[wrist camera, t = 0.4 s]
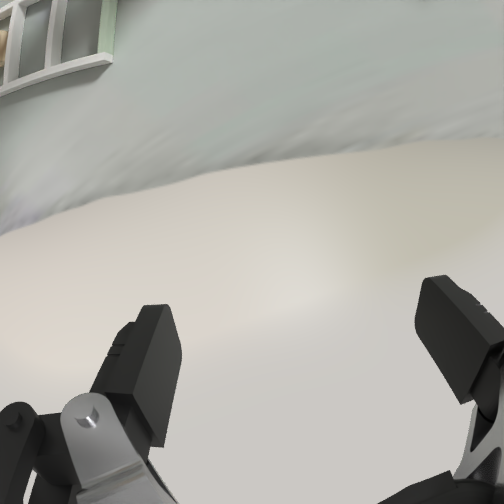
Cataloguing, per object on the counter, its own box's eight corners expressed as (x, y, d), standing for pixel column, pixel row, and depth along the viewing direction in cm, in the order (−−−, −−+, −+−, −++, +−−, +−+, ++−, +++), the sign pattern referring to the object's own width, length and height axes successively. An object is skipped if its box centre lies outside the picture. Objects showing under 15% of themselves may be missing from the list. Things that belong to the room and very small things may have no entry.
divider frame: (-10, 22, 22) (-20, 20, 20) (122, -33, 23) (116, -40, 20) (-19, 105, 28) (-29, 106, 26) (112, 62, 29) (104, 59, 26)
